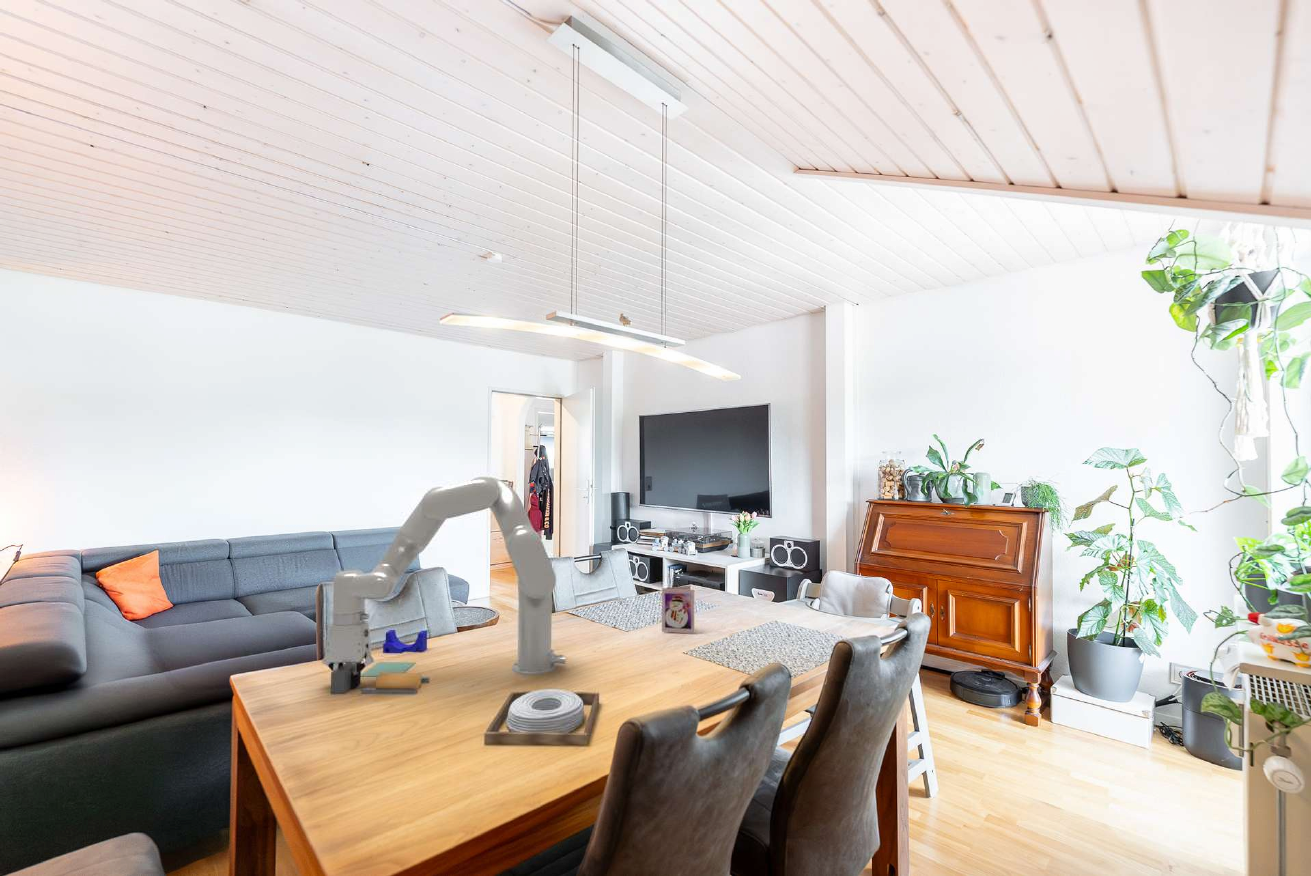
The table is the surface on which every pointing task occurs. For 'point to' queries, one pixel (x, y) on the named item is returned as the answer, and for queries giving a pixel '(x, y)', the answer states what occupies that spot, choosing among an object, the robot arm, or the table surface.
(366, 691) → the channel
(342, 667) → the block
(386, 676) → the tan cylinder
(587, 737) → the cable tray
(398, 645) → the cable clip
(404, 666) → the pad
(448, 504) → the robot arm
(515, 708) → the cable
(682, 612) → the greeting card
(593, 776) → the table surface
